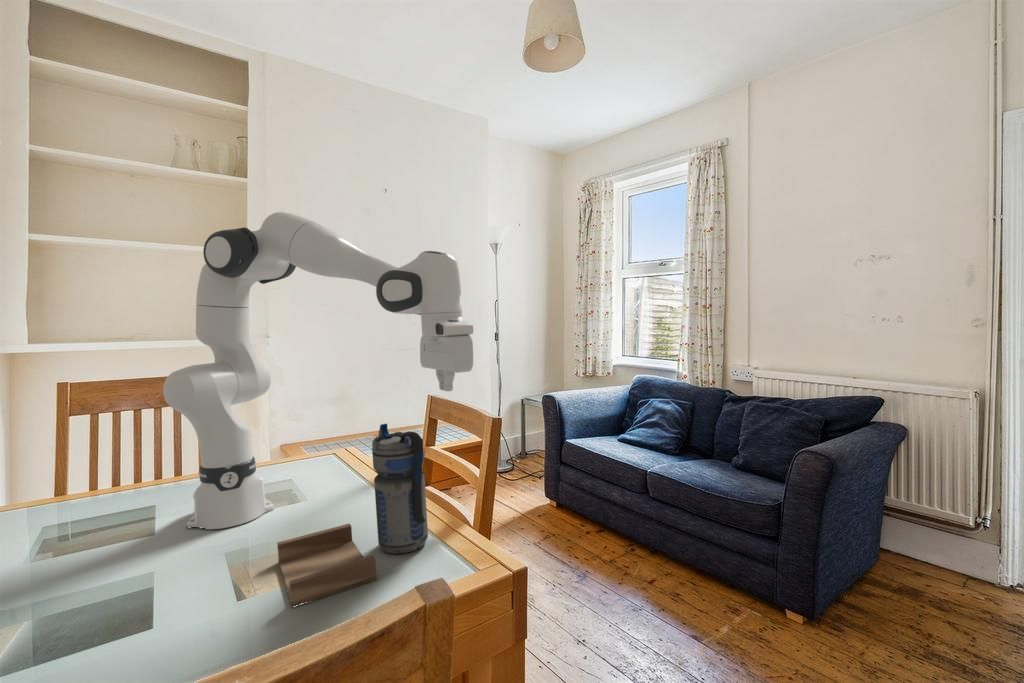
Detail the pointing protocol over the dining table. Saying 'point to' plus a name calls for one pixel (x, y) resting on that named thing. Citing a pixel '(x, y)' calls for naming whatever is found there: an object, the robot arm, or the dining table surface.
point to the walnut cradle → (323, 564)
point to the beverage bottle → (399, 491)
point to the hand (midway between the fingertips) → (446, 390)
